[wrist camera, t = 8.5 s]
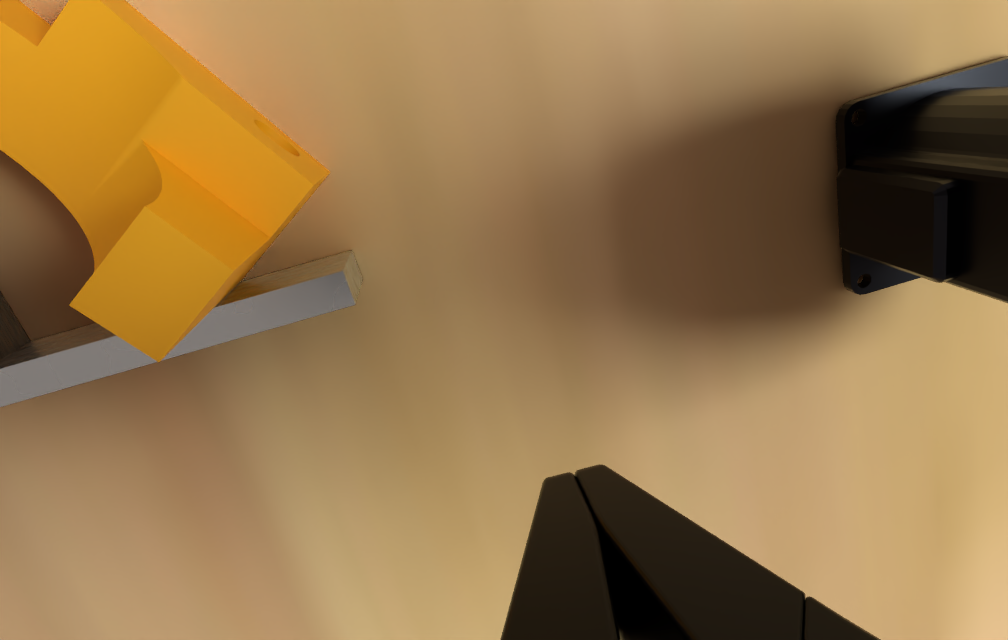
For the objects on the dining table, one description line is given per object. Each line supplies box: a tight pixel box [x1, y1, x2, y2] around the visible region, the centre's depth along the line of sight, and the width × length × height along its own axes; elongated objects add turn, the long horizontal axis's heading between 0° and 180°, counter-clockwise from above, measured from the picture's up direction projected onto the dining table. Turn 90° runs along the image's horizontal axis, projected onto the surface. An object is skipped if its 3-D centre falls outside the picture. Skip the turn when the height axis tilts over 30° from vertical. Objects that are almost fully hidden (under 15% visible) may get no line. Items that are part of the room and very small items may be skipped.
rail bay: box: [0, 250, 363, 407], centre depth 14 cm, size 11×18×2 cm, turn 14°
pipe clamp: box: [0, 0, 330, 362], centre depth 13 cm, size 12×4×6 cm, turn 47°
